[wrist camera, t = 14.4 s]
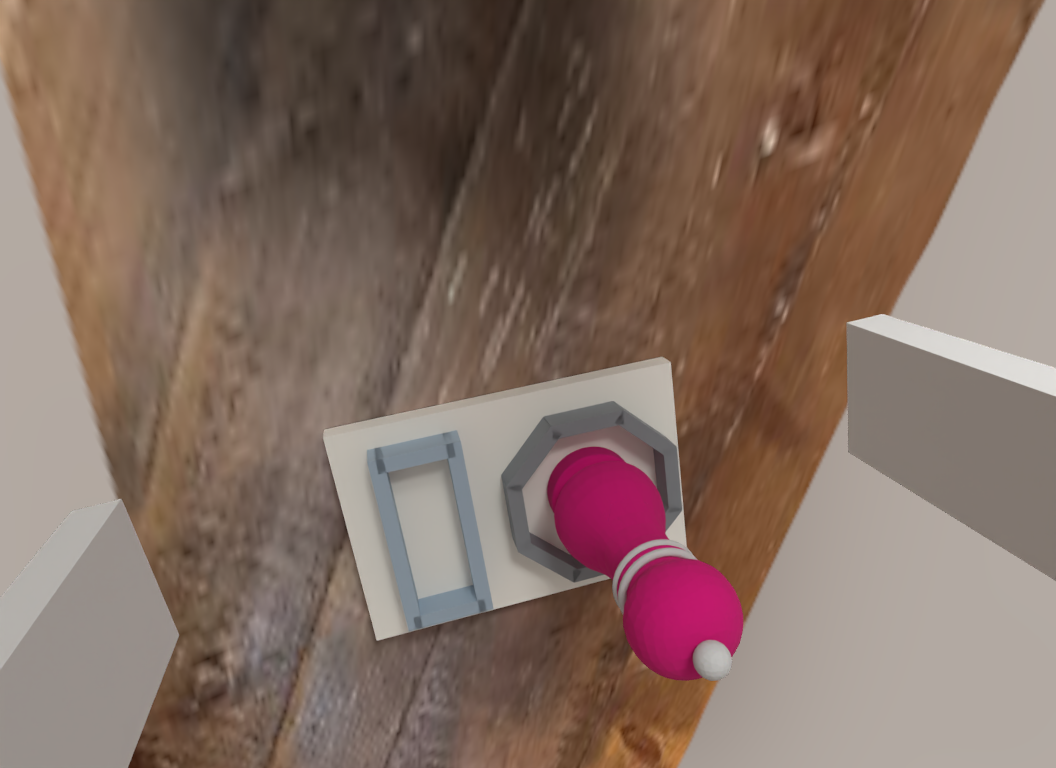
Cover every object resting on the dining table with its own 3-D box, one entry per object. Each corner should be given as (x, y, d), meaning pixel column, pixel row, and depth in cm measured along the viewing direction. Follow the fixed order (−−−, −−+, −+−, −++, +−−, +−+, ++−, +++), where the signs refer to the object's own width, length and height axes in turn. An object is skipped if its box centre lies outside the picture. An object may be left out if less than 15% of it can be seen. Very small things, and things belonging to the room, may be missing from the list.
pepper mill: (626, 426, 50) (784, 581, 31) (643, 513, 52) (800, 705, 33) (529, 457, 49) (632, 636, 30) (552, 544, 51) (661, 760, 32)
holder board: (324, 429, 46) (321, 449, 43) (662, 356, 50) (682, 369, 47) (376, 628, 52) (377, 659, 48) (679, 548, 56) (699, 571, 52)
